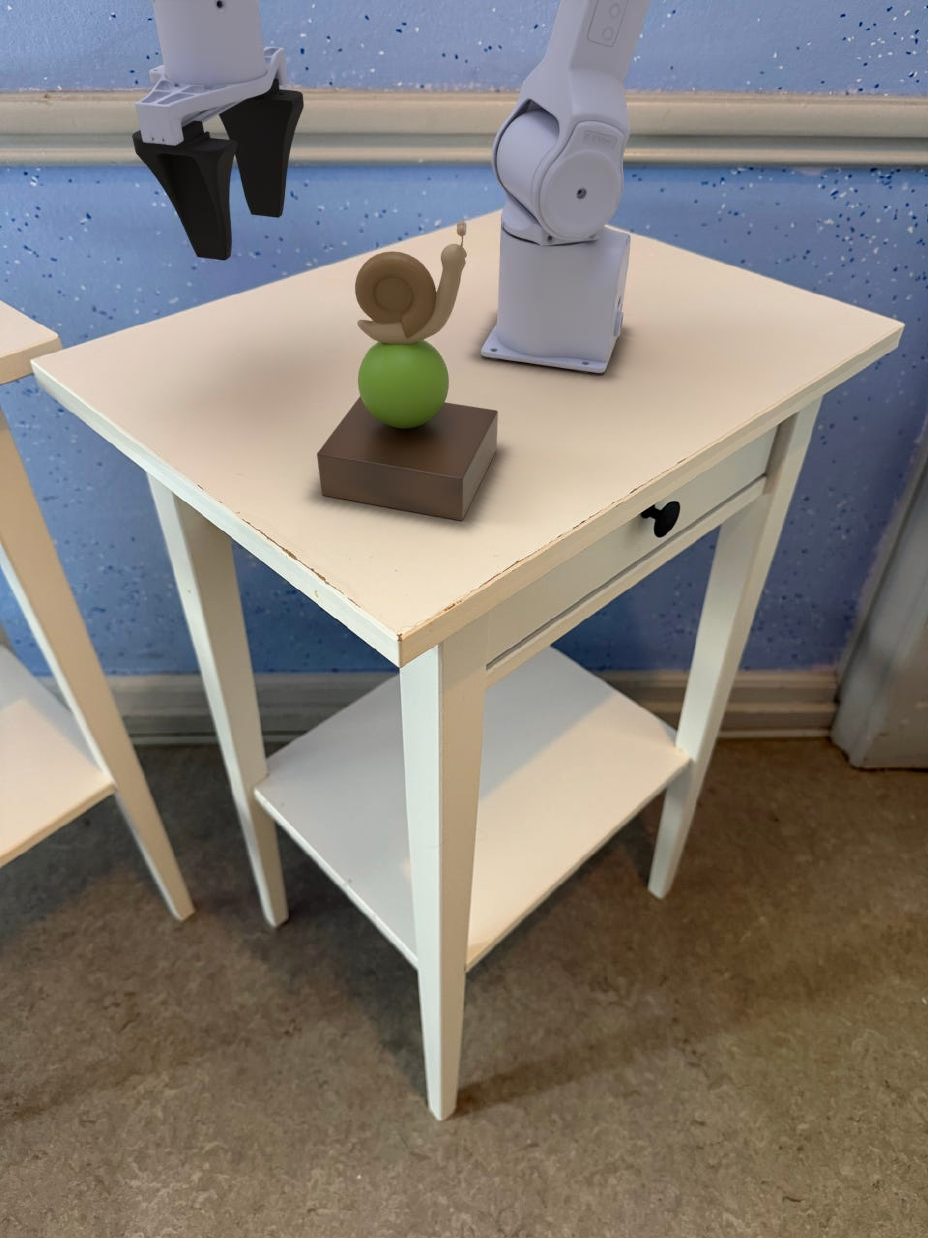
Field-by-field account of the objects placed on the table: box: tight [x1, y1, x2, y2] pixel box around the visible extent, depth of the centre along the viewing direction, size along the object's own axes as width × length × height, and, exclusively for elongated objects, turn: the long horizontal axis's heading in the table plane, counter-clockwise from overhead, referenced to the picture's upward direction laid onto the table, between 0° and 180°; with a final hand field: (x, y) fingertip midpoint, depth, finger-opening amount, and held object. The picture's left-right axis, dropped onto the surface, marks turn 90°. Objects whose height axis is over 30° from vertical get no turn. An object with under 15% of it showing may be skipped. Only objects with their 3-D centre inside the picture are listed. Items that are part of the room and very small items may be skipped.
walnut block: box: [316, 395, 499, 521], centre depth 56 cm, size 9×8×3 cm
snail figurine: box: [354, 220, 468, 428], centre depth 52 cm, size 5×6×12 cm
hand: (241, 234), depth 59 cm, fingers open, 7 cm apart
